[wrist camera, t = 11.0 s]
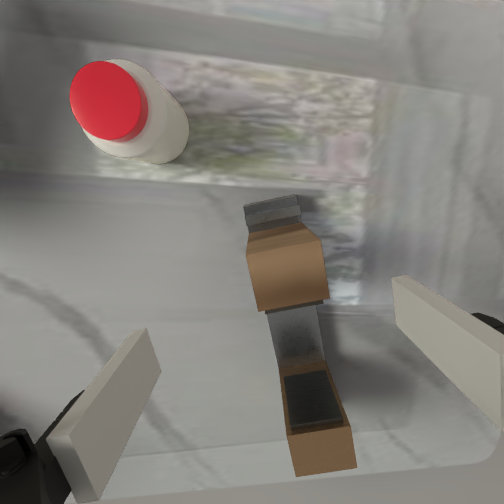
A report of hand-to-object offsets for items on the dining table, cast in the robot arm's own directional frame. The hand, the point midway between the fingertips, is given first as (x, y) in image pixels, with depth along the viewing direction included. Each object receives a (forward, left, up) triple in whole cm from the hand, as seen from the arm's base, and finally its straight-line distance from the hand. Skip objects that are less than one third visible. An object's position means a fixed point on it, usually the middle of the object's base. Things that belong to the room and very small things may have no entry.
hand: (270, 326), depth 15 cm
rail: (+9, +2, -21) cm, 23 cm away
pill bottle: (-16, -9, -21) cm, 28 cm away
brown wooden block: (0, +2, -18) cm, 18 cm away
